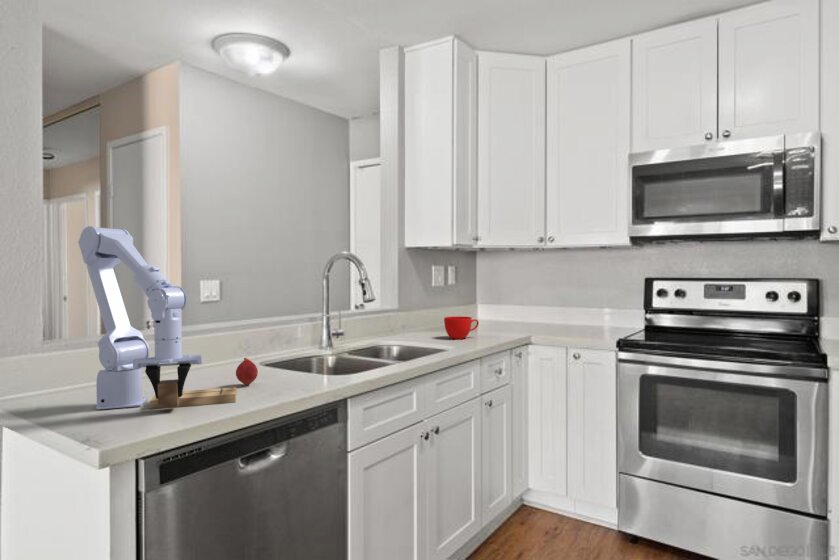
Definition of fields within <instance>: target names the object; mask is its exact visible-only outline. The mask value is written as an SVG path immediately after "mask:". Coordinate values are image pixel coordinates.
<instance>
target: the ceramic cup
mask: <svg viewBox="0 0 839 560" xmlns="http://www.w3.org/2000/svg"><path fill="white" fill-rule="evenodd" d="M443 321H444V328H445V332H446V333H447V335H448V336H449V338H450V339H451V338H452V339H451V340H456V339H460V340H464V339H463V338H465V339H466V338H467V336H468V335H469V334H470V332H472V331H474V330H476V329H477V328H478V326H479V320H478V319H472V317H471V316H444V318H443ZM473 322H476V325H475V326H474V327H473V328H472V323H473Z"/></svg>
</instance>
